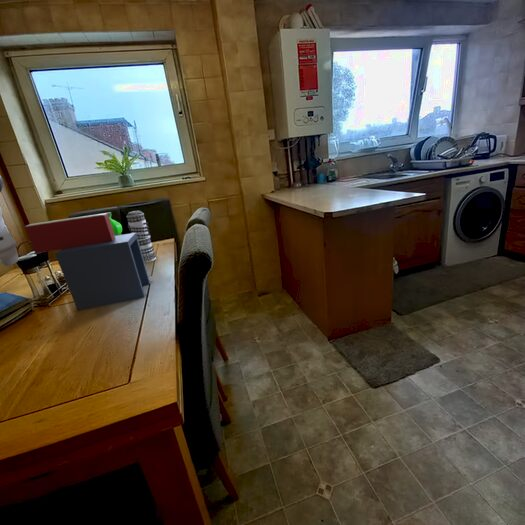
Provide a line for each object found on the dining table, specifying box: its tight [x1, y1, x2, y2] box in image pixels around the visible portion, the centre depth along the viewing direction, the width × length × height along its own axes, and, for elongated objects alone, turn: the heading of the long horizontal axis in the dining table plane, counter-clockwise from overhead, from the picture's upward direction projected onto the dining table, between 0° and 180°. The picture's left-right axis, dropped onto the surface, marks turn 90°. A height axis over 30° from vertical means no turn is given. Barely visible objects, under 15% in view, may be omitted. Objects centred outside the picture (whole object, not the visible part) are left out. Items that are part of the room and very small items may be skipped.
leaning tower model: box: [126, 210, 157, 264], centre depth 137 cm, size 9×9×25 cm
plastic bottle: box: [105, 211, 123, 236], centre depth 146 cm, size 10×10×25 cm
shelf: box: [54, 232, 151, 311], centre depth 100 cm, size 22×14×21 cm, turn 103°
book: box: [23, 212, 115, 254], centre depth 94 cm, size 24×4×9 cm, turn 103°
